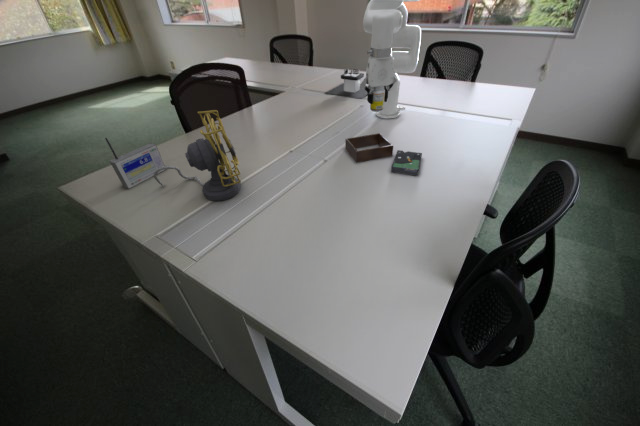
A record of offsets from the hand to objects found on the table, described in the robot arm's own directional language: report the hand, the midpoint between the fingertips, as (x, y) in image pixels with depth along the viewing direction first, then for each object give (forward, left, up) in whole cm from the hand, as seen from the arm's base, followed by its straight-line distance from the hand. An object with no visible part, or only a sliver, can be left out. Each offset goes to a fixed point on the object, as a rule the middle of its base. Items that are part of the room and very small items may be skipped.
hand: (377, 101), depth 120 cm
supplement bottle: (0, 0, -4) cm, 4 cm away
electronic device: (+99, -10, -21) cm, 102 cm away
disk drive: (-6, +19, -21) cm, 29 cm away
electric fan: (+75, +12, -21) cm, 79 cm away
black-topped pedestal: (-22, -86, -21) cm, 91 cm away
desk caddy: (+4, +3, -21) cm, 21 cm away
